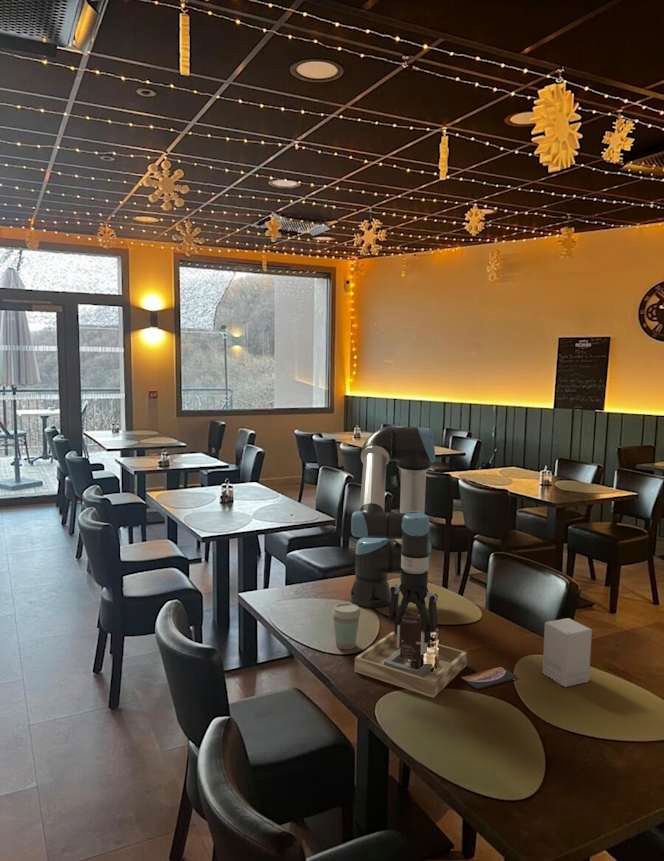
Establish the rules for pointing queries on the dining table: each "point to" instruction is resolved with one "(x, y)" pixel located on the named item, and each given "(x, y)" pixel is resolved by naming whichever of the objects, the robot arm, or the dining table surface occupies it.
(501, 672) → the smartphone
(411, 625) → the box
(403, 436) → the robot arm
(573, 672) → the supplement box
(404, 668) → the slate socket
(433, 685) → the birch tray
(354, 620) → the coffee cup
